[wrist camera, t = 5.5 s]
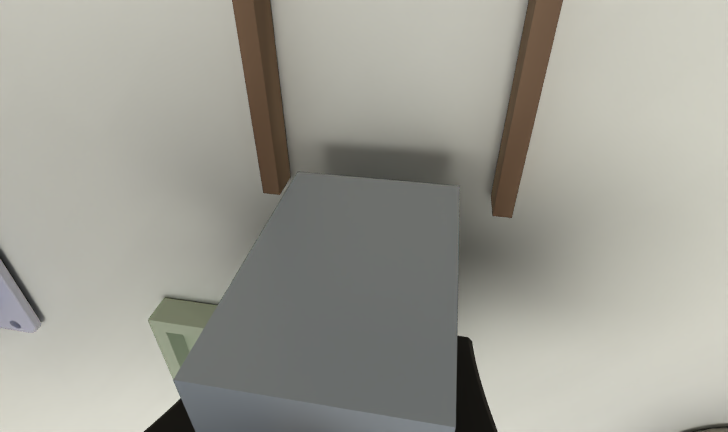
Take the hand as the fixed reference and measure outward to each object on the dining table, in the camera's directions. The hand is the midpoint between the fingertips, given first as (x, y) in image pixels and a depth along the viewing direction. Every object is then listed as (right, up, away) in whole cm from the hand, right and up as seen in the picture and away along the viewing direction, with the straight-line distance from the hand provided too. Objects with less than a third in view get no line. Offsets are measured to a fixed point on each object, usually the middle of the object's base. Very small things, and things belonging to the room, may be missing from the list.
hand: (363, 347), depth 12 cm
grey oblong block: (0, +1, +2) cm, 2 cm away
